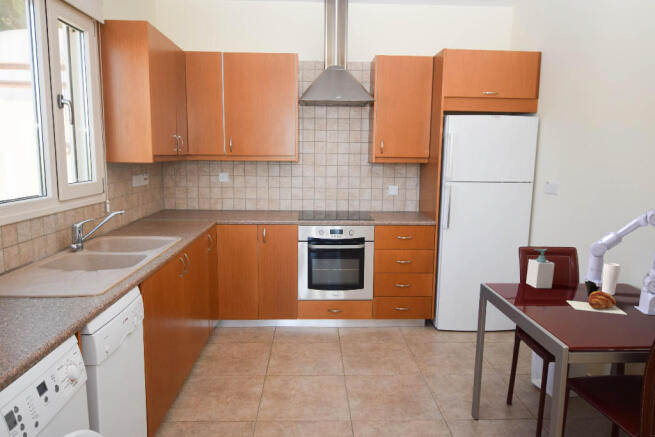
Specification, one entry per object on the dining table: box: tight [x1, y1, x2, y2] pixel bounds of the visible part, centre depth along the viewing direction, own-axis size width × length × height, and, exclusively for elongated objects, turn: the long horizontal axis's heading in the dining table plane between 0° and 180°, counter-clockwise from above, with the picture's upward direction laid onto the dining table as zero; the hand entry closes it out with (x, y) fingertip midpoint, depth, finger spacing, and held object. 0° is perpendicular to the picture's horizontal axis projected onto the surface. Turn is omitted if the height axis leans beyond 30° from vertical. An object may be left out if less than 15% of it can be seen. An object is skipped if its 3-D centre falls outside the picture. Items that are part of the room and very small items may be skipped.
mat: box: [565, 300, 628, 316], centre depth 191 cm, size 12×20×1 cm, turn 79°
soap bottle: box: [525, 248, 555, 289], centre depth 220 cm, size 9×9×19 cm
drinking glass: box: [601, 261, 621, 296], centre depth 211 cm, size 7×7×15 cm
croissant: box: [588, 290, 617, 309], centre depth 193 cm, size 21×10×8 cm, turn 129°
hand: (590, 297), depth 199 cm, fingers closed
